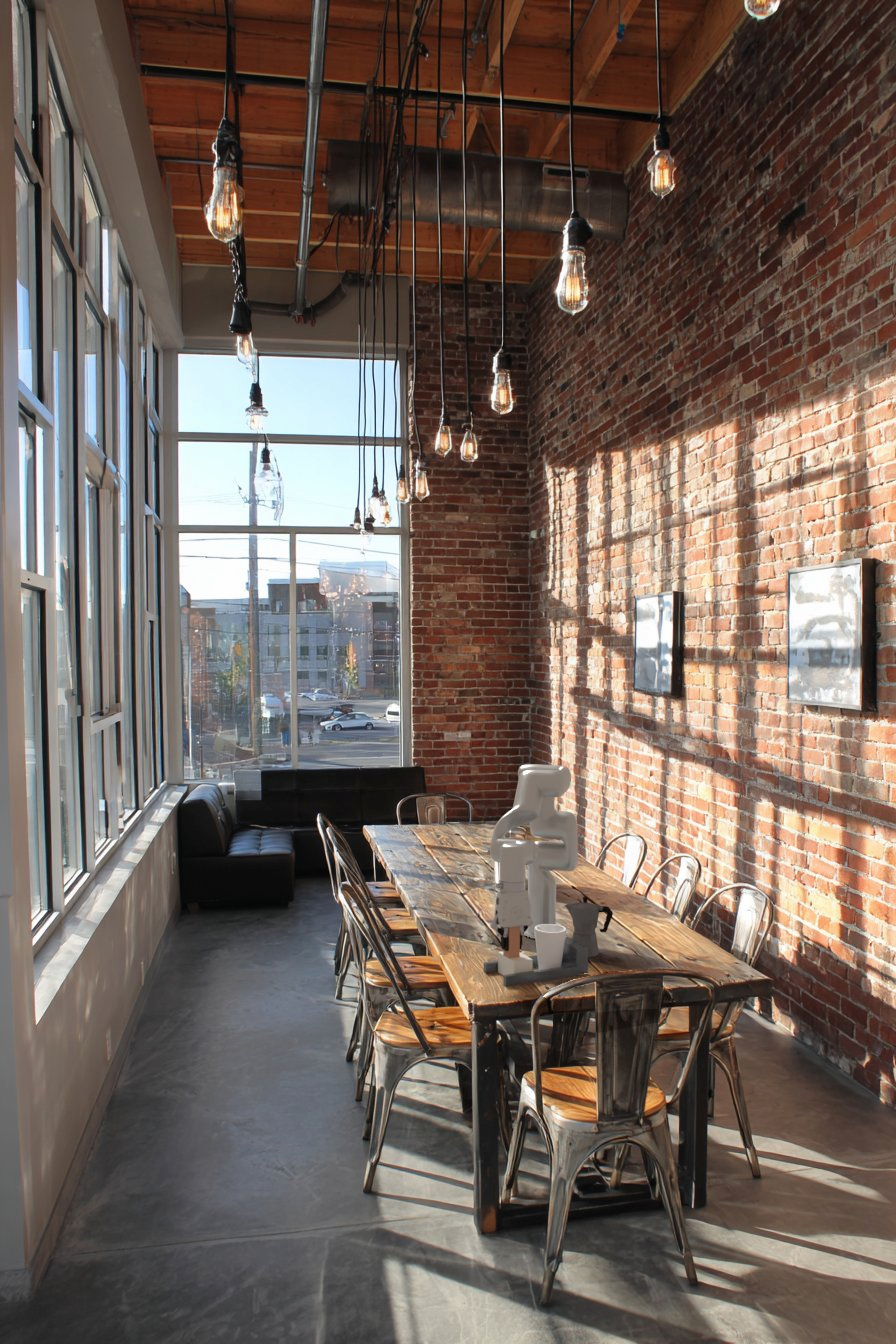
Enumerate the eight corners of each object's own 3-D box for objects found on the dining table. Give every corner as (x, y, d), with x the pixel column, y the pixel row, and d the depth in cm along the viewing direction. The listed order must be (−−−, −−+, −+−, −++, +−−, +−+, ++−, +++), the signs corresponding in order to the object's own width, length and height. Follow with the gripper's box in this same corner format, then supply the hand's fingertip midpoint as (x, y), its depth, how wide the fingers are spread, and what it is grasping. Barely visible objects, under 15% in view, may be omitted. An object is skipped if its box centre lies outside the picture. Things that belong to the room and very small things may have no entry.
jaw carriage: (496, 972, 280) (497, 913, 279) (515, 969, 282) (516, 910, 282) (512, 982, 270) (513, 921, 270) (532, 980, 273) (533, 919, 273)
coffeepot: (560, 954, 298) (561, 897, 298) (567, 946, 307) (568, 891, 307) (609, 961, 293) (609, 902, 293) (615, 952, 301) (615, 896, 301)
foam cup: (563, 967, 286) (563, 924, 286) (568, 977, 277) (568, 932, 277) (531, 966, 286) (532, 924, 286) (535, 977, 276) (536, 932, 276)
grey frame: (483, 972, 280) (483, 945, 280) (564, 961, 292) (565, 935, 292) (505, 987, 267) (506, 959, 267) (589, 975, 279) (590, 948, 279)
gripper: (492, 891, 269) (492, 955, 269) (543, 886, 276) (542, 949, 276) (481, 885, 276) (480, 948, 276) (530, 881, 283) (530, 942, 283)
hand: (511, 948), depth 276 cm, fingers closed on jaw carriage, 3 cm apart
